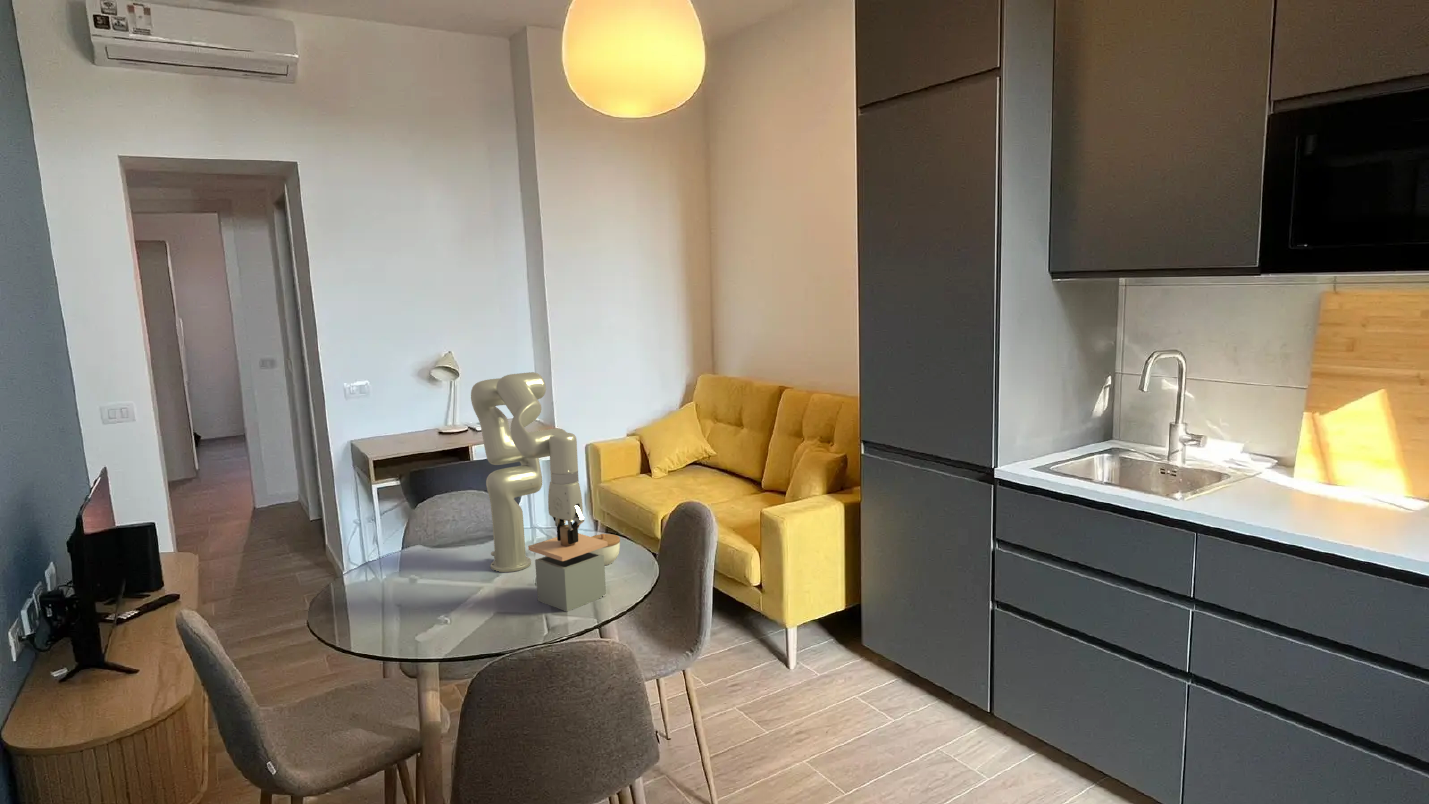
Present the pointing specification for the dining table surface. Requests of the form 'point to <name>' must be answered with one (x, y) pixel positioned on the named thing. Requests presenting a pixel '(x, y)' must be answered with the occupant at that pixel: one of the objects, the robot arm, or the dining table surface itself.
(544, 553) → the lid
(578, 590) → the storage box
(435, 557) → the dining table surface
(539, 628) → the dining table surface
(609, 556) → the lidded jar
